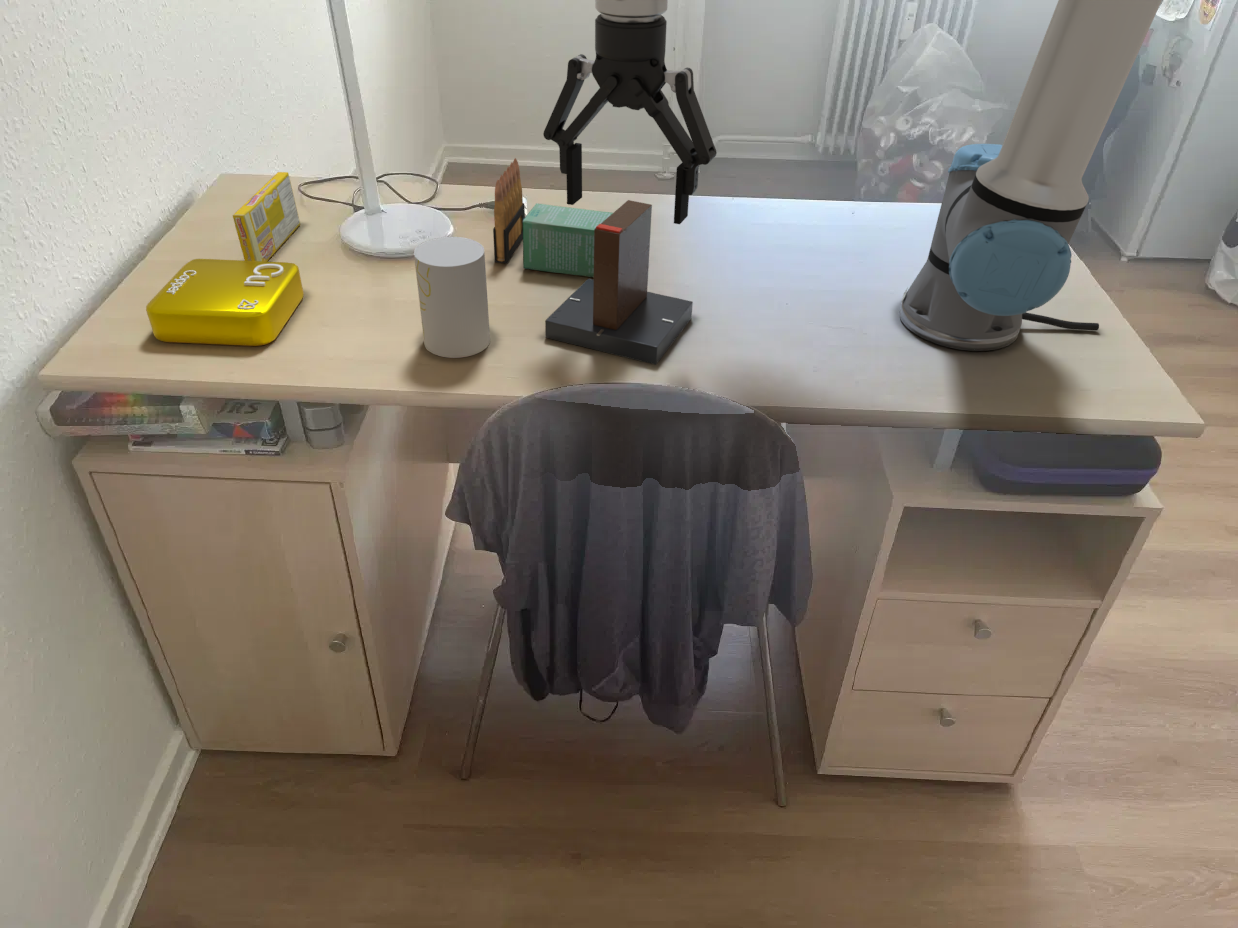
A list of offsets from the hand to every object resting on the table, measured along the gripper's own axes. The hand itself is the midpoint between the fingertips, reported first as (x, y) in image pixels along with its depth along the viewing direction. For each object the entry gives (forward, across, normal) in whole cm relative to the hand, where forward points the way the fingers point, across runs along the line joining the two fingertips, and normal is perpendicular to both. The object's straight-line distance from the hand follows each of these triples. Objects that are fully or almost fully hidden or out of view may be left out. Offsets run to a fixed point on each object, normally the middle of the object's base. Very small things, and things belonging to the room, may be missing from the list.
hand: (626, 210), depth 109 cm
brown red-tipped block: (+13, 0, 0) cm, 13 cm away
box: (+16, -14, +14) cm, 25 cm away
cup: (+16, -18, -12) cm, 26 cm away
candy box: (+15, -56, 0) cm, 58 cm away
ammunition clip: (+16, -24, +15) cm, 33 cm away
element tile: (+15, -46, -19) cm, 53 cm away
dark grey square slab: (+16, 0, 0) cm, 16 cm away
